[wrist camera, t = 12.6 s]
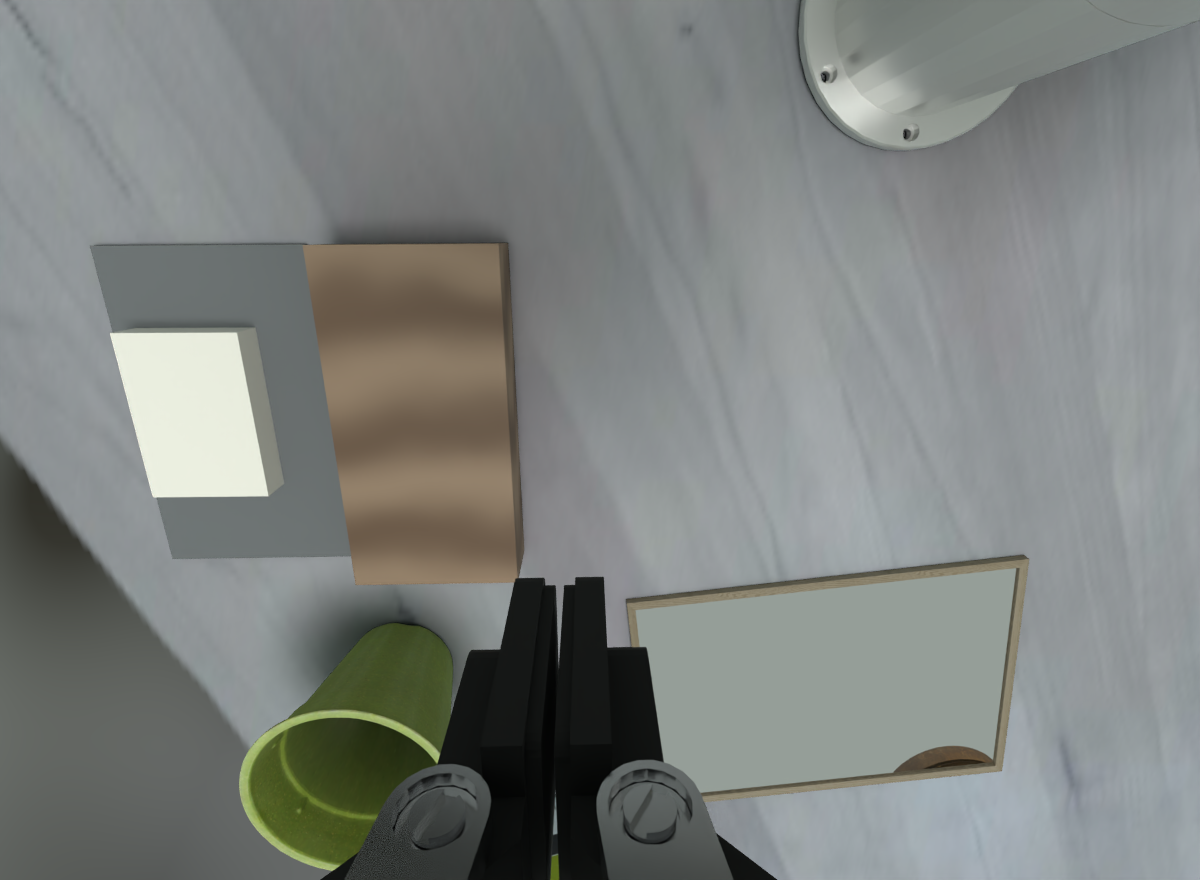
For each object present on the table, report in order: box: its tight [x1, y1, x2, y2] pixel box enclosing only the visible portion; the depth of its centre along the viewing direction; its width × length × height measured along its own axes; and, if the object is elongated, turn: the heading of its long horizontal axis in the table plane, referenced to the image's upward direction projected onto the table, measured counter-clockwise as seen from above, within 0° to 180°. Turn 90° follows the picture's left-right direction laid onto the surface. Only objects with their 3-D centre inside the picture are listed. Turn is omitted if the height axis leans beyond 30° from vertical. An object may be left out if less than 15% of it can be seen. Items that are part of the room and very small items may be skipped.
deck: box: [303, 243, 524, 585], centre depth 36 cm, size 20×10×4 cm, turn 0°
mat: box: [90, 244, 351, 559], centre depth 37 cm, size 20×12×1 cm, turn 0°
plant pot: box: [239, 623, 453, 871], centre depth 39 cm, size 12×12×11 cm
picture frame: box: [626, 555, 1029, 802], centre depth 45 cm, size 19×1×28 cm
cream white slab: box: [110, 327, 284, 497], centre depth 36 cm, size 10×7×2 cm
